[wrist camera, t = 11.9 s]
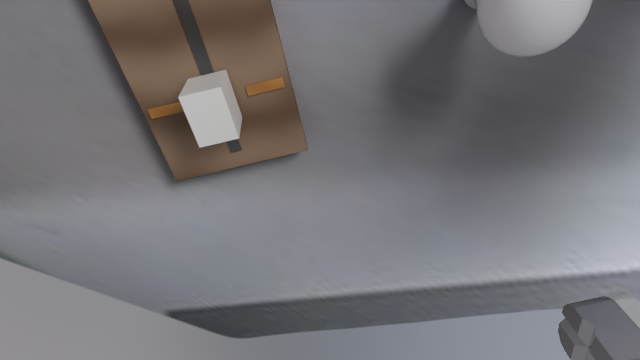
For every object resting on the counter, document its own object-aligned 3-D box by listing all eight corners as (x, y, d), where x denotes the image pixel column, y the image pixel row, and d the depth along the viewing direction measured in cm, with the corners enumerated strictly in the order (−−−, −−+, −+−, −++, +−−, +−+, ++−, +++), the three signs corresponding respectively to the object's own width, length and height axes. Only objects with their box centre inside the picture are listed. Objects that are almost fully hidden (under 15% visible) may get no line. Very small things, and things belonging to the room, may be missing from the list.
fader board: (13, -183, 23) (-9, -193, 21) (211, -234, 23) (206, -248, 21) (180, 169, 37) (176, 182, 35) (305, 140, 36) (307, 151, 35)
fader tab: (188, 78, 30) (178, 97, 27) (226, 69, 30) (220, 86, 27) (206, 125, 32) (199, 147, 29) (242, 116, 32) (239, 138, 29)
